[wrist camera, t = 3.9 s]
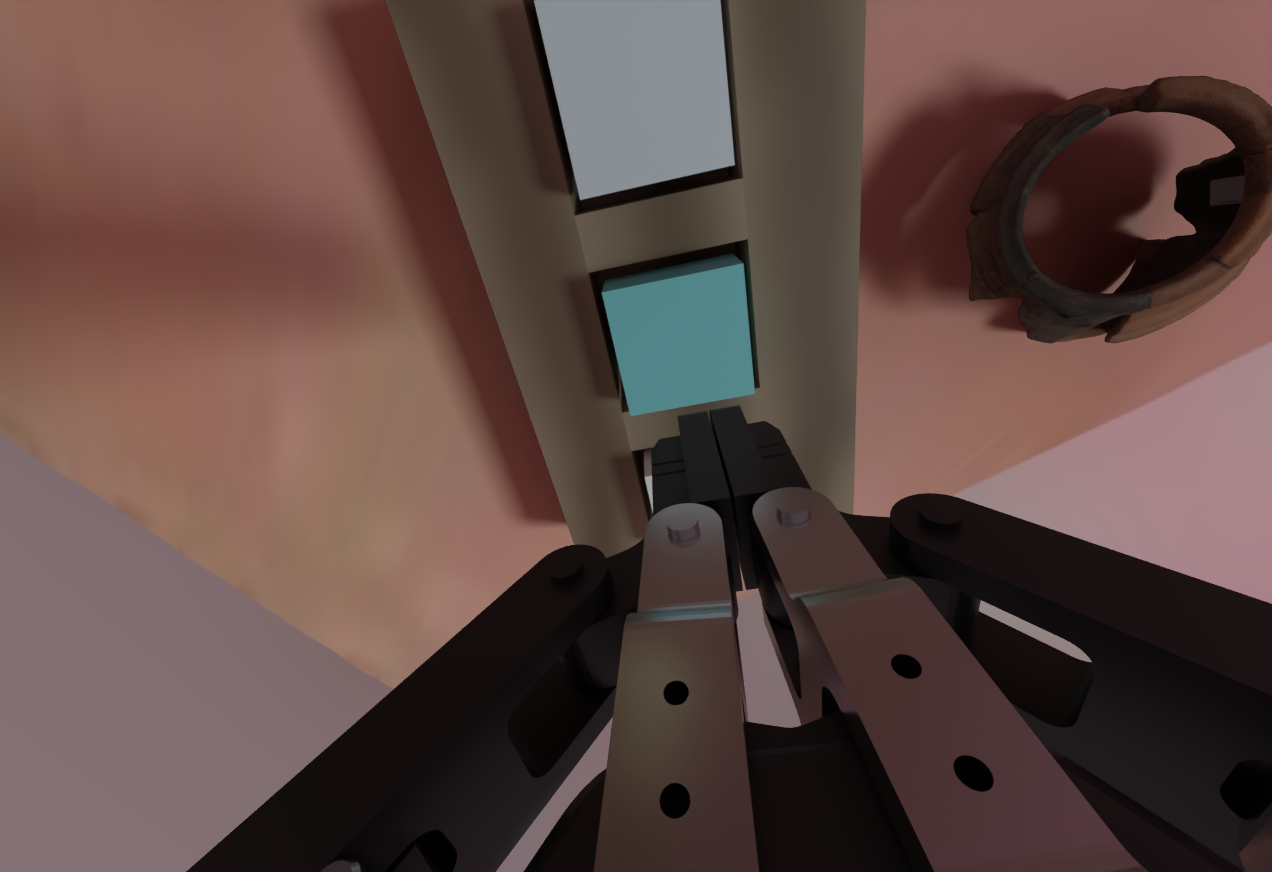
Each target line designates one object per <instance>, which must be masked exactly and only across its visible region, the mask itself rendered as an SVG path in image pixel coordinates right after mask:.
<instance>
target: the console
mask: <svg viewBox="0 0 1272 872" xmlns="http://www.w3.org/2000/svg"><path fill="white" fill-rule="evenodd" d="M385 1H386V4H387V7H388V10H389V12H390V15H391V18H392V21H393V24H394V27H395V30H396V33H397V35H398V38H399V41H400V44H401V47H402V50H403V53H404V56H405V59H406V61H407V64H408V67H409V70H410V73H411V76H412V79H413V82H414V84H415V87H416V90H417V93H418V96H419V99H420V102H421V105H422V107H423V110H424V113H425V116H426V119H427V122H428V125H429V128H430V131H431V133H432V136H433V139H434V142H435V145H436V148H437V151H438V154H439V156H440V159H441V162H442V165H443V168H444V171H445V174H446V177H447V180H448V182H449V185H450V188H451V191H452V194H453V197H454V200H455V203H456V205H457V208H458V211H459V214H460V217H461V220H462V223H463V226H464V228H465V231H466V234H467V237H468V240H469V243H470V246H471V249H472V252H473V254H474V257H475V260H476V263H477V266H478V269H479V272H480V275H481V277H482V280H483V283H484V286H485V289H486V292H487V295H488V298H489V300H490V303H491V306H492V309H493V312H494V315H495V318H496V321H497V324H498V326H499V329H500V332H501V335H502V338H503V341H504V344H505V347H506V349H507V352H508V355H509V358H510V361H511V364H512V367H513V370H514V373H515V375H516V378H517V381H518V384H519V387H520V390H521V393H522V396H523V398H524V401H525V404H526V407H527V410H528V413H529V416H530V419H531V421H532V424H533V427H534V430H535V433H536V436H537V439H538V442H539V445H540V447H541V450H542V453H543V456H544V459H545V462H546V465H547V468H548V470H549V473H550V476H551V479H552V482H553V485H554V488H555V491H556V494H557V496H558V499H559V502H560V505H561V508H562V511H563V514H564V517H565V519H566V522H567V525H568V528H569V531H570V534H571V537H572V540H573V542H574V545H577V544H581V545H590V546H593V547H595V548H597V549H599V550H600V551H601V552H602V553H603V554H604V555H605V557H606V558H608V557H610V556H613V555H615V554H618V553H620V552H623V551H625V550H627V549H629V548H631V547H633V546H634V545H636V544H637V543H639V542H640V541H641V540H642V539H643V538H644V537H645V530H646V526H647V524H648V522H649V521H650V519H651V518H652V517H653V511H652V507H651V503H650V498H649V494H648V490H647V486H646V481H645V477H644V451H645V450H651V449H653V448H654V446H655V445H656V443H657V442H658V440H659V439H662V438H668V437H674V436H680V431H679V424H678V417H677V416H679V415H685V414H690V413H696V412H702V411H707V413H708V417H709V420H710V416H709V410H713V409H718V408H724V407H730V406H735V405H740V407H741V409H742V412H743V414H744V417H745V419H746V421H747V424H750V423H755V422H761V421H766V422H768V423H770V424H771V425H773V426H774V427H776V428H778V429H779V430H780V431H781V433H782V435H783V437H784V438H785V440H786V443H787V444H788V446H789V448H790V450H791V451H792V455H794V457H795V459H796V461H797V463H798V464H799V466H800V468H801V470H802V472H803V474H804V476H805V478H806V479H807V481H808V483H809V485H810V487H811V489H812V490H814V491H817V492H819V493H821V494H823V495H825V496H826V497H827V498H828V499H830V501H831V502H832V503H833V504H834V506H835V507H836V508H837V510H838V511H841V512H844V513H848V514H853V500H854V459H855V419H856V378H857V338H858V298H859V257H860V217H861V176H862V136H863V96H864V55H865V15H866V0H720V2H721V13H722V25H723V36H724V47H725V59H726V70H727V82H728V93H729V104H730V116H731V127H732V138H733V150H734V161H735V165H733V166H728V167H724V168H719V169H715V170H711V171H706V172H702V173H697V174H693V175H688V176H684V177H680V178H675V179H671V180H666V181H662V182H658V183H653V184H649V185H644V186H640V187H636V188H631V189H627V190H622V191H618V192H613V193H609V194H605V195H600V196H596V197H591V198H587V199H583V200H580V197H579V193H578V188H577V184H576V180H575V175H574V171H573V167H572V163H571V158H570V154H569V150H568V145H567V141H566V137H565V132H564V128H563V124H562V119H561V115H560V111H559V107H558V102H557V98H556V94H555V89H554V85H553V81H552V76H551V72H550V68H549V63H548V59H547V55H546V51H545V46H544V42H543V38H542V33H541V29H540V25H539V20H538V16H537V12H536V7H535V3H534V1H535V0H385ZM731 253H733V254H734V255H735V256H736V257H737V258H738V259H739V260H740V261H741V262H743V264H744V275H745V286H746V298H747V309H748V321H749V332H750V343H751V355H752V366H753V378H754V389H755V394H752V395H746V396H741V397H735V398H730V399H724V400H719V401H713V402H708V403H702V404H696V405H691V406H685V407H680V408H674V409H669V410H663V411H657V412H652V413H646V414H641V415H635V416H630V412H629V408H628V404H627V399H626V395H625V391H624V386H623V382H622V378H621V374H620V369H619V365H618V361H617V356H616V352H615V348H614V343H613V339H612V335H611V330H610V326H609V322H608V318H607V313H606V309H605V305H604V300H603V296H602V290H603V286H604V282H605V280H607V279H611V278H616V277H621V276H626V275H631V274H635V273H640V272H645V271H650V270H655V269H659V268H664V267H669V266H674V265H678V264H683V263H688V262H693V261H698V260H702V259H707V258H712V257H717V256H722V255H726V254H731Z"/></svg>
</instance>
